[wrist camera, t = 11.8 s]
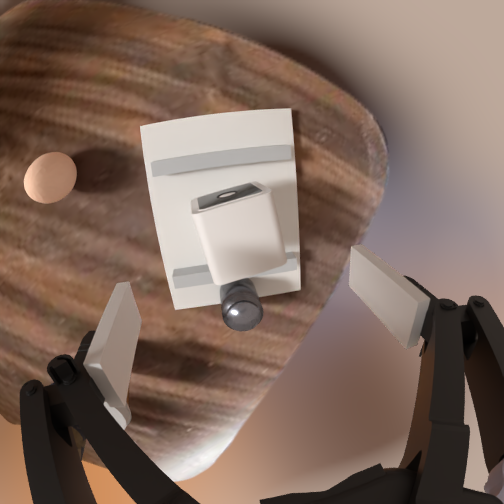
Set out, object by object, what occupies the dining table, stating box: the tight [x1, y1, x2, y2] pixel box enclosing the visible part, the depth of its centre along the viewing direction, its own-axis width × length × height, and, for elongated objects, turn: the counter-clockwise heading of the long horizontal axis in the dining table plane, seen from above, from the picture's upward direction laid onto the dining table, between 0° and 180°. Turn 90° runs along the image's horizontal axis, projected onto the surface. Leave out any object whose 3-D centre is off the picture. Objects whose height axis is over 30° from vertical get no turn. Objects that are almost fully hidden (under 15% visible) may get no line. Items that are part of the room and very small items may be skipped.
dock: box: [140, 108, 301, 310], centre depth 31 cm, size 22×16×3 cm
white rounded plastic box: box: [190, 181, 287, 285], centre depth 27 cm, size 6×7×10 cm
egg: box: [24, 152, 77, 203], centre depth 23 cm, size 5×5×8 cm
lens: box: [220, 278, 263, 331], centre depth 33 cm, size 4×4×6 cm
